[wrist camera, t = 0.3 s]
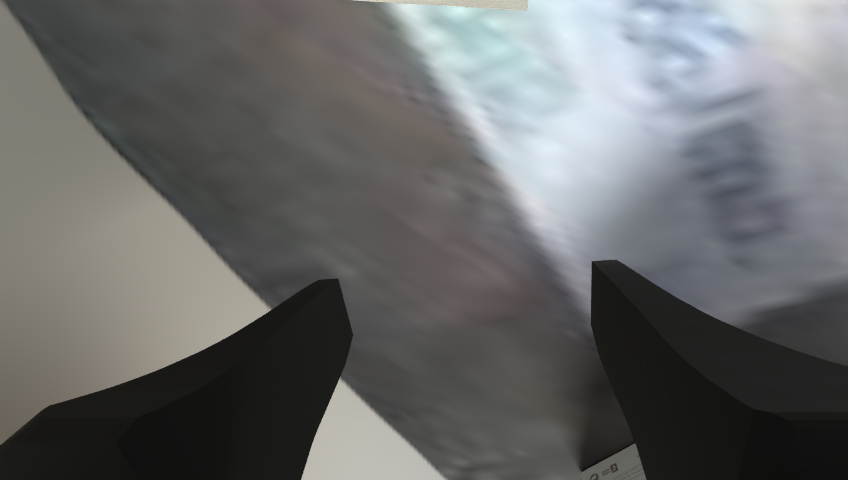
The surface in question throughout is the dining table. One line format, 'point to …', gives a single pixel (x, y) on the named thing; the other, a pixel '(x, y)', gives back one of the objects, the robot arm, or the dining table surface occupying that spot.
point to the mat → (467, 3)
